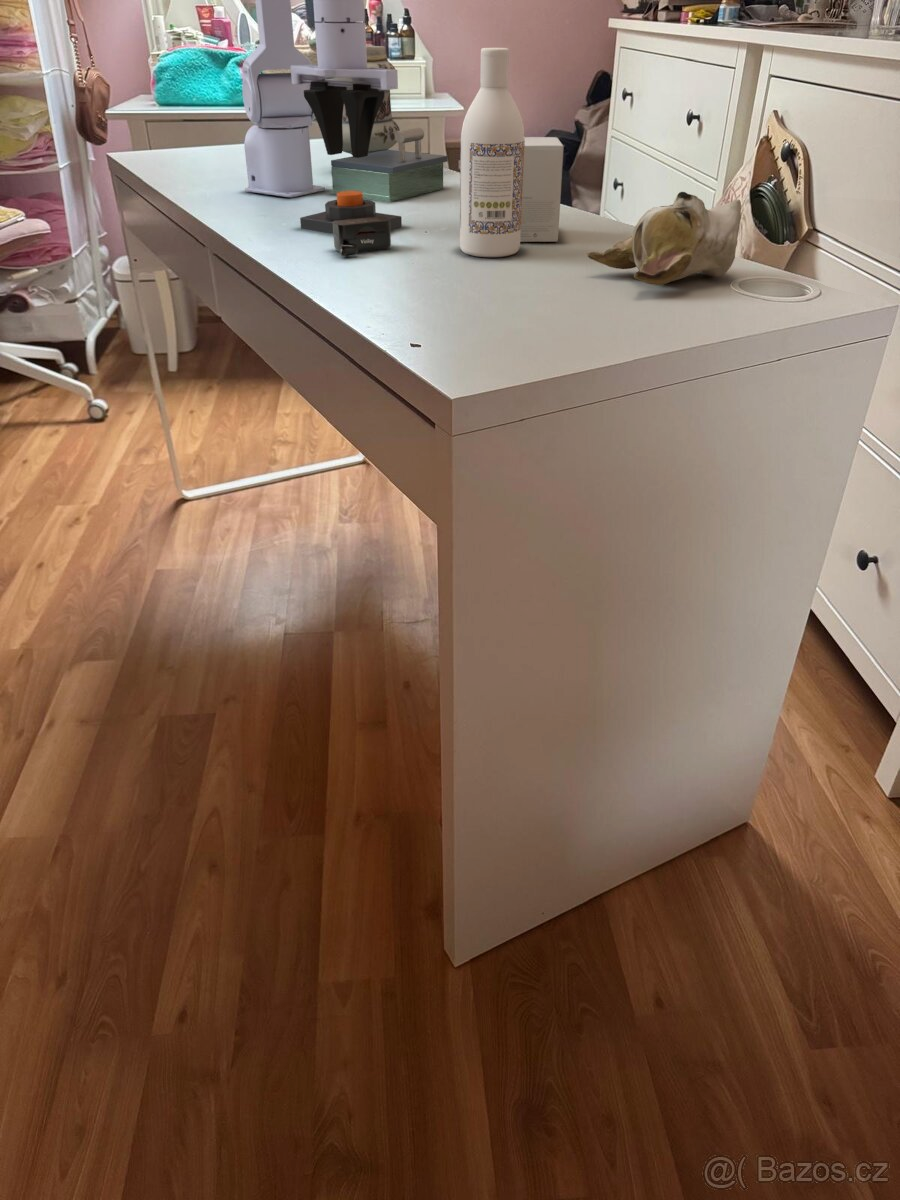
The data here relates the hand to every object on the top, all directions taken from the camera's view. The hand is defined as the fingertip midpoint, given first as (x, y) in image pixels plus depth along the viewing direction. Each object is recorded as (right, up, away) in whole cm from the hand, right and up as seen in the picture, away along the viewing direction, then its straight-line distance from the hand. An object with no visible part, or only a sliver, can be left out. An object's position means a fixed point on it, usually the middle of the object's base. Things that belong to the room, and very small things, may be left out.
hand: (347, 155), depth 109 cm
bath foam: (+17, -14, -5) cm, 23 cm away
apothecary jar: (-2, +18, +42) cm, 46 cm away
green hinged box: (+3, +8, +26) cm, 28 cm away
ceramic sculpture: (+35, -21, -16) cm, 44 cm away
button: (0, -5, +3) cm, 6 cm away
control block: (0, -7, +5) cm, 8 cm away
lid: (+4, +11, +24) cm, 27 cm away
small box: (+23, -9, +2) cm, 25 cm away
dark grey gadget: (+2, -14, -6) cm, 16 cm away
